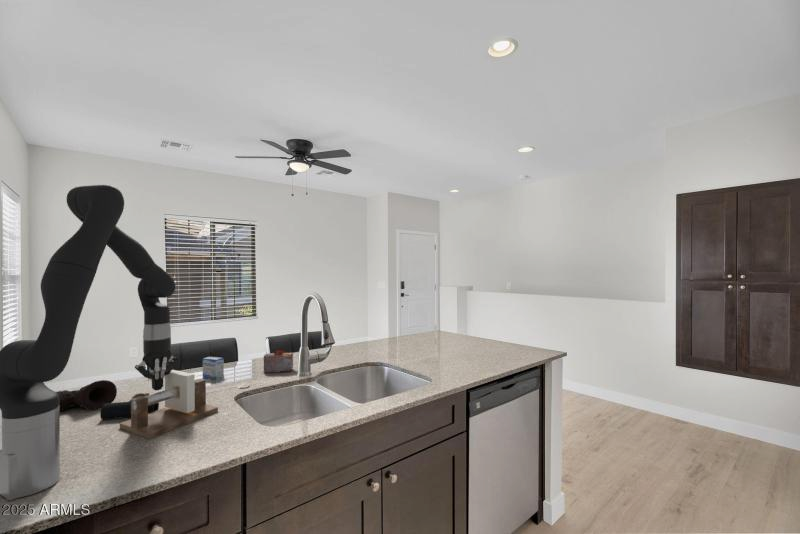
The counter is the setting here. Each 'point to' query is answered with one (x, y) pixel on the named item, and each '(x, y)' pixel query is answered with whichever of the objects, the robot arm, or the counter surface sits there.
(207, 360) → the medicine box
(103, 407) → the pipe connector
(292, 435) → the counter surface
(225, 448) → the counter surface
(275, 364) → the food item
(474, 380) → the counter surface
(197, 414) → the pipe stand
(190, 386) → the white flat block
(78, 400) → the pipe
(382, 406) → the counter surface
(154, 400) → the steel pipe
